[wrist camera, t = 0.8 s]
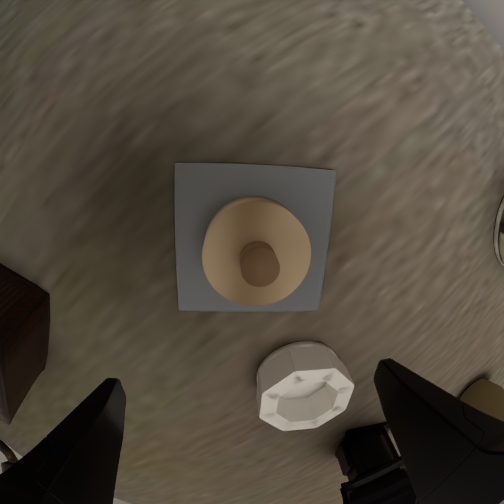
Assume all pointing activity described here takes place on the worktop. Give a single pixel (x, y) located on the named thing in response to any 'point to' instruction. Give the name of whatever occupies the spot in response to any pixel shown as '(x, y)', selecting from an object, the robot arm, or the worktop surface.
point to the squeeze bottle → (485, 398)
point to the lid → (255, 251)
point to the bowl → (302, 386)
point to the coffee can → (499, 234)
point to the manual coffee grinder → (20, 344)
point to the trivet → (241, 185)
